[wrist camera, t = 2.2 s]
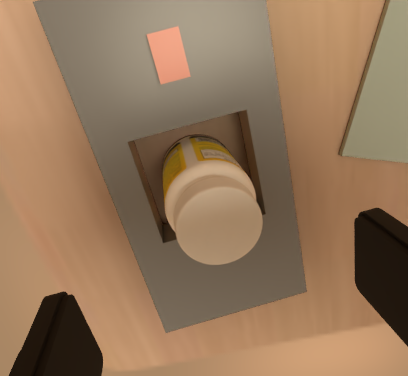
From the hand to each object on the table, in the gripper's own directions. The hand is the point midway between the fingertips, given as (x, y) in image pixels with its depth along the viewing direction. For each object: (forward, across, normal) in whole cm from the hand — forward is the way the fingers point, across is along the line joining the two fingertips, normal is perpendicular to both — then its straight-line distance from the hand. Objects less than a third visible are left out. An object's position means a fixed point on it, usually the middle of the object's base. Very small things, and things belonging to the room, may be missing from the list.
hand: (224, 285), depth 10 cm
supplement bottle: (+12, -1, 0) cm, 13 cm away
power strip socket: (+12, -1, 0) cm, 12 cm away
